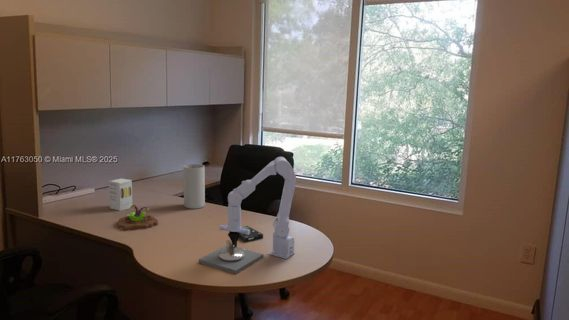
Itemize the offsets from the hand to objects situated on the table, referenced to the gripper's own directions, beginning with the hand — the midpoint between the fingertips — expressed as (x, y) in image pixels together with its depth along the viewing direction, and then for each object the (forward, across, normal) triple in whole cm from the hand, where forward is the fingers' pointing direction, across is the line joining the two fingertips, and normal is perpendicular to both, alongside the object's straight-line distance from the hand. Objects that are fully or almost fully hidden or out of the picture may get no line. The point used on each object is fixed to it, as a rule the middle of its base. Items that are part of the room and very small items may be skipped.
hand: (234, 247), depth 196 cm
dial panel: (+4, -2, +5) cm, 7 cm away
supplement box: (+3, +94, -32) cm, 99 cm away
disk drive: (+4, +6, -24) cm, 25 cm away
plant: (+4, +67, -14) cm, 68 cm away
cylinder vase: (+4, +58, -55) cm, 80 cm away
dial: (+2, -1, +4) cm, 5 cm away
